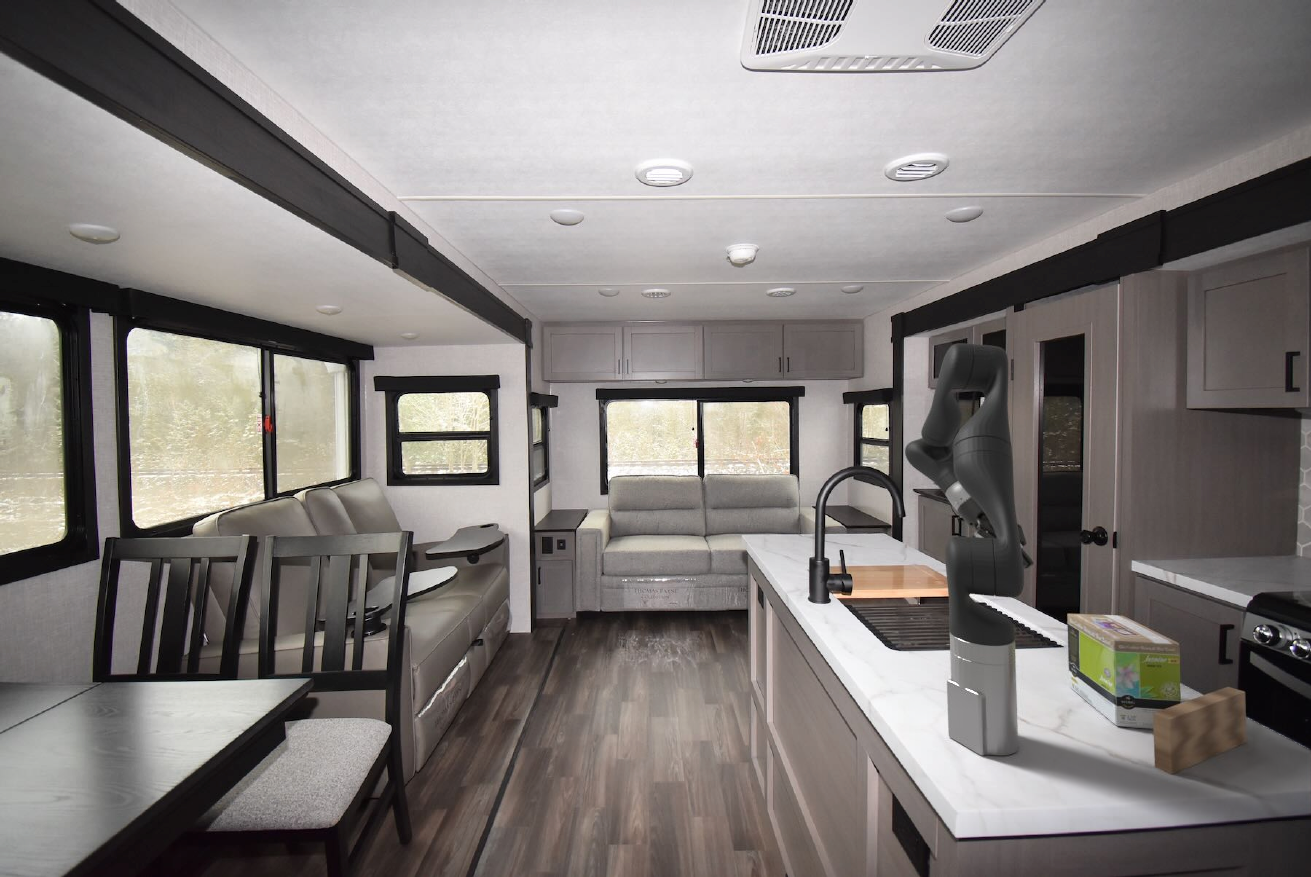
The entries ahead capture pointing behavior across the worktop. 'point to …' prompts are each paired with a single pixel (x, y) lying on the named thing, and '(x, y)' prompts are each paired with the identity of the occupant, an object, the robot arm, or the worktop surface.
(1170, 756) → the wooden block
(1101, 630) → the tea box
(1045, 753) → the worktop surface
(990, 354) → the robot arm
